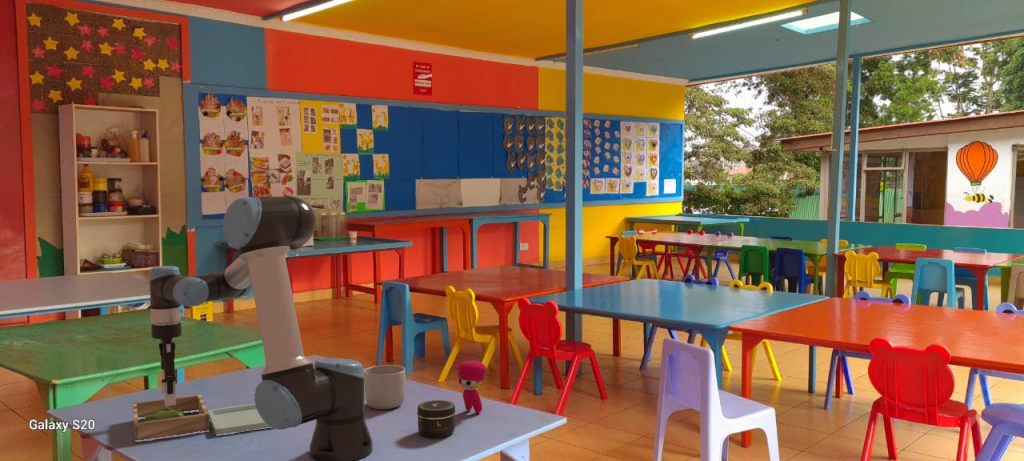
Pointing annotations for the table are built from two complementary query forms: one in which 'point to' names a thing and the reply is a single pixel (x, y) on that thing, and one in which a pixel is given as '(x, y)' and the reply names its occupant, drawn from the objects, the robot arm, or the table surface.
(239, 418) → the tray
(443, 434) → the jar
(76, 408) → the table surface
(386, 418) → the table surface
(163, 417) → the character figure
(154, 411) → the bin
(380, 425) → the table surface
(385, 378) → the planter
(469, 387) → the toy
